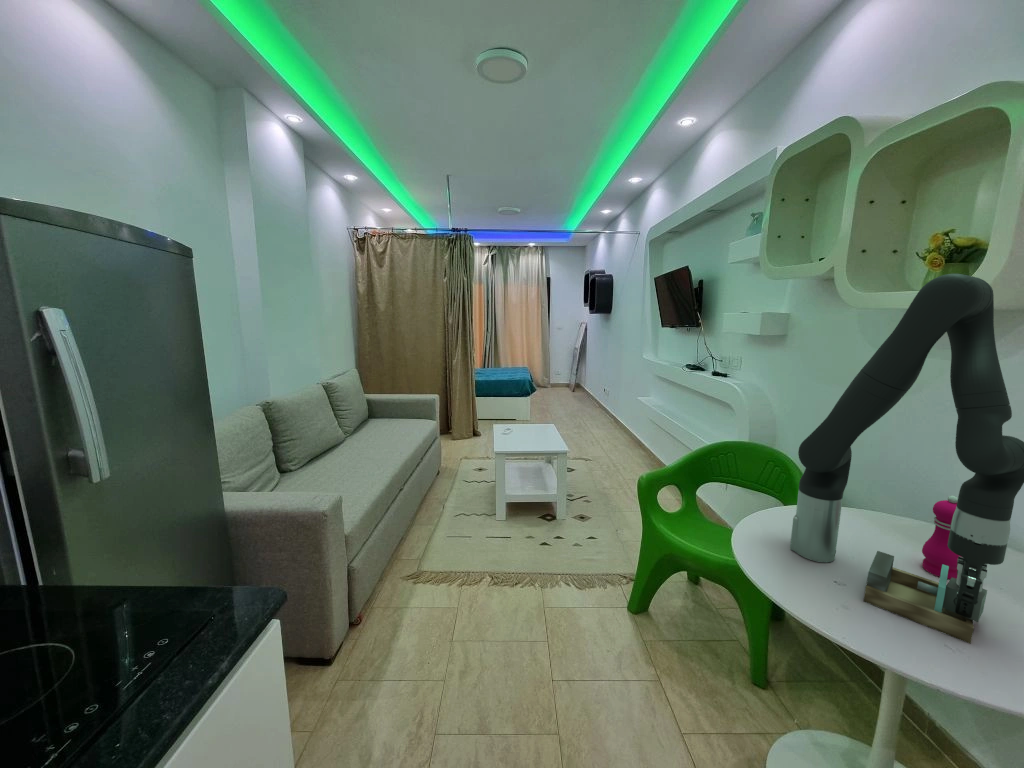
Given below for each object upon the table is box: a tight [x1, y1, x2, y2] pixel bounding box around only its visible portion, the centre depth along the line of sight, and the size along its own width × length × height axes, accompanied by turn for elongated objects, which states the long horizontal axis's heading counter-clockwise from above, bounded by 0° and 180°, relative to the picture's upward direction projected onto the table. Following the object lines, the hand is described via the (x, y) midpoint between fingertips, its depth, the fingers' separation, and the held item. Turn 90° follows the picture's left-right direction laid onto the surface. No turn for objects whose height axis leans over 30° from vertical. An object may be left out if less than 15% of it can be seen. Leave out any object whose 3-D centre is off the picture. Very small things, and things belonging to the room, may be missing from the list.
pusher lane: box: [863, 550, 975, 644], centre depth 88 cm, size 16×14×7 cm
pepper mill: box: [921, 495, 961, 580], centre depth 98 cm, size 7×7×20 cm
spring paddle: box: [917, 564, 949, 613], centre depth 87 cm, size 4×11×8 cm, turn 131°
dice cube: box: [942, 577, 988, 623], centre depth 83 cm, size 5×5×5 cm
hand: (963, 607), depth 84 cm, fingers closed on dice cube, 5 cm apart
